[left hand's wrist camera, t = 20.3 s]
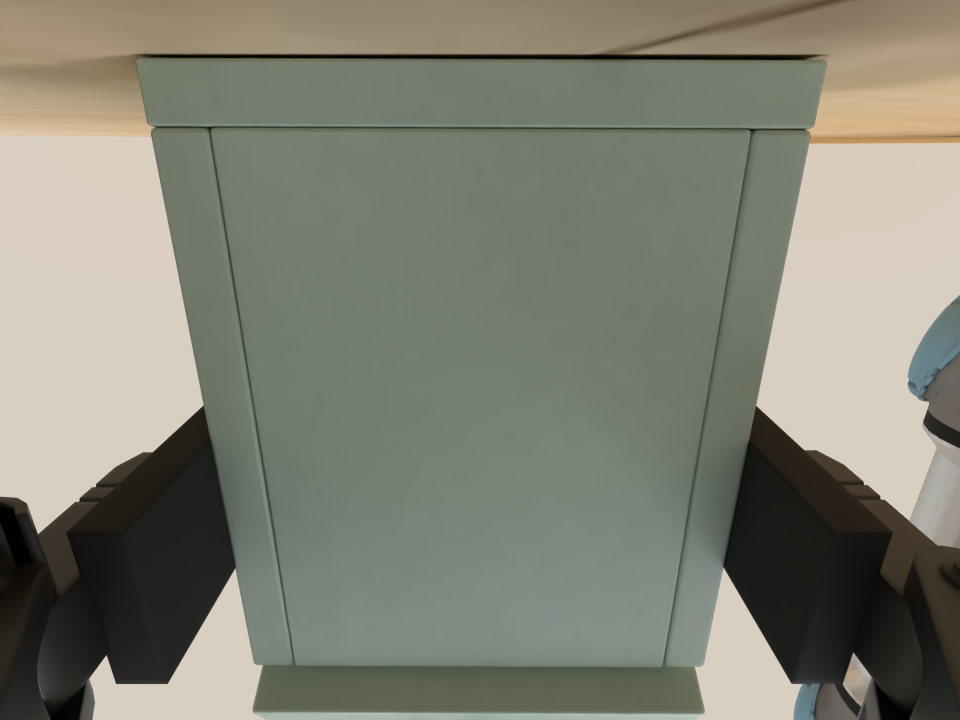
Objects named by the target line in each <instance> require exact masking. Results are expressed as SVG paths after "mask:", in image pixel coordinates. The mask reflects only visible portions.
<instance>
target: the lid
mask: <svg viewBox="0 0 960 720" xmlns="http://www.w3.org/2000/svg"><path fill="white" fill-rule="evenodd" d="M253 712H254V713H255V714H257V715H259V716H261V717H262V718H264V719H266V720H695V719H696V718H698V717H700V716H702V715H704V712H705V709H704V705H703V701H702V696H701V692H700V688H699V683H698V679H697V675H696V670H695V667H668V666H665V665H664V663H663V665H662V667H494V666H298V665H296V664H295V661H294V663H293V664H291V665H263V667H262V671H261V675H260V679H259V684H258V688H257V692H256V696H255V700H254V704H253Z"/></svg>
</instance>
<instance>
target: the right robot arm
mask: <svg viewBox="0 0 960 720" xmlns="http://www.w3.org/2000/svg"><path fill="white" fill-rule="evenodd" d="M908 379H909V382H908V387H909V390H910V392H911V393H912V394H913V395H915V396H917V397H918V399H919V400H922V401H928V402H929V407H928V410H927V412H926V415H925V418H924V421H923V425H922V426H923V429H924V430H925V432H926V433H927V434H928V436H929V437H930V438H931V440H932V441H933V442H934V444H935V445H936V448H937V449H936V451H935V454H934V457H933V459H932V462H931V465H930V467H929V470H928V473H927V475H926V478H925V481H924V483H923V486H922V489H921V491H920V494H919V497H918V499H917V502H916V505H915V507H914V510H913V513H912V515H911V518H910V520H909V521H910V522H911V523H912V524H913V525H914V526H916V527H917V528H918V529H919V530H920V531H921V532H922V533H924V534H925V535H926V536H927V537H928V538H929V539H931V540H932V541H933V542H934V543H935V544H936V545H938V546H941V545H942V546H948V547H955V548H960V295H959V296H958V297H957V298H956V299H955V300H954V301H953V302H952V303H951V304H950V305H949V306H947V307H946V308H945V310H943V312H942V313H941V314H940V315H939V316H938V317H937V319H936V320H935V321H934V323H933V324H932V325H931V327H930V328H929V329H928V331H927V332H926V334H925V335H924V337H923V339H922V341H921V342H920V344H919V346H918V348H917V350H916V352H915V354H914V356H913V359H912V361H911V364H910V367H909V372H908ZM871 678H872V677H871V676H870V674H869V673H868V672H867V670H866V669H865V668H864V666H863V665H862V663H861V662H860V661H859V659H858V658H857V657H856V655H855V654H854V653H853V655H852V658H851V661H850V664H849V667H848V670H847V673H846V676H845V679H844V682H843V684H802V686H801V688H800V691H799V693H798V697H797V700H796V704H795V709H794V720H857V717H858V714H859V711H860V709H861V706H862V703H863V700H864V697H865V695H866V692H867V689H868V686H869V683H870V680H871Z"/></svg>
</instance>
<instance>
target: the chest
mask: <svg viewBox="0 0 960 720" xmlns="http://www.w3.org/2000/svg"><path fill="white" fill-rule="evenodd" d="M826 65H827V63H826V61H824V60H629V59H349V58H137V59H136V67H137V72H138V77H139V82H140V88H141V93H142V98H143V103H144V108H145V113H146V118H147V123H148V125H150V126H152V127H156V128H153V129H152V130H151V137H152V142H153V147H154V152H155V157H156V162H157V167H158V172H159V178H160V183H161V188H162V193H163V198H164V203H165V209H166V214H167V219H168V224H169V229H170V234H171V239H172V244H173V250H174V255H175V259H176V265H177V270H178V275H179V280H180V285H181V291H182V296H183V301H184V306H185V311H186V316H187V322H188V327H189V332H190V337H191V342H192V347H193V352H194V357H195V363H196V368H197V373H198V378H199V383H200V388H201V393H202V399H203V404H204V409H205V414H206V419H207V424H208V429H209V435H210V440H211V445H212V450H213V455H214V460H215V465H216V470H217V476H218V481H219V486H220V491H221V496H222V501H223V506H224V511H225V516H226V521H227V526H228V531H229V536H230V541H231V546H232V551H233V556H234V561H235V567H236V573H237V578H238V583H239V589H240V594H241V599H242V604H243V609H244V614H245V619H246V625H247V629H248V635H249V640H250V645H251V650H252V655H253V660H254V663H255V664H256V665H291V664H293V663H294V661H295V664H296V665H298V666H494V667H662V665H663V663H664V665H665V666H668V667H700V666H703V664H704V660H705V655H706V650H707V645H708V640H709V636H710V631H711V626H712V621H713V616H714V611H715V606H716V601H717V596H718V591H719V586H720V581H721V576H722V571H723V566H724V561H725V557H726V552H727V547H728V542H729V537H730V532H731V527H732V522H733V517H734V512H735V507H736V502H737V497H738V492H739V487H740V482H741V477H742V472H743V468H744V463H745V458H746V453H747V448H748V443H749V438H750V433H751V428H752V423H753V418H754V413H755V408H756V403H757V398H758V393H759V388H760V383H761V379H762V374H763V369H764V364H765V359H766V354H767V349H768V344H769V339H770V334H771V329H772V324H773V319H774V314H775V309H776V304H777V299H778V294H779V290H780V285H781V280H782V275H783V270H784V265H785V260H786V255H787V250H788V245H789V240H790V235H791V230H792V225H793V220H794V215H795V211H796V206H797V201H798V196H799V191H800V186H801V181H802V176H803V171H804V166H805V161H806V156H807V151H808V146H809V141H810V132H809V131H807V130H805V129H810V128H813V126H814V124H815V119H816V114H817V109H818V105H819V100H820V95H821V90H822V85H823V80H824V75H825V70H826Z"/></svg>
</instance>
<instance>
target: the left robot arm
mask: <svg viewBox="0 0 960 720" xmlns="http://www.w3.org/2000/svg"><path fill="white" fill-rule="evenodd" d="M723 567H724V569H725V570H726V572H727V574H728V576H729V577H730V579H731V581H732V582H733V584H734V586H735V588H736V589H737V591H738V593H739V594H740V596H741V598H742V600H743V601H744V603H745V605H746V606H747V608H748V610H749V612H750V613H751V615H752V617H753V618H754V620H755V622H756V624H757V625H758V627H759V629H760V630H761V632H762V634H763V635H764V637H765V639H766V641H767V642H768V644H769V646H770V647H771V649H772V651H773V653H774V654H775V656H776V658H777V659H778V661H779V663H780V664H781V666H782V668H783V670H784V671H785V673H786V675H787V677H788V678H789V680H790V682H791V683H792V684H843V682H844V679H845V676H846V673H847V670H848V667H849V664H850V661H851V658H852V655H853V653H854V654H855V655H856V657H857V658H858V659H859V661H860V662H861V663H862V665H863V666H864V668H865V669H866V670H867V672H868V673H869V674H870V676H871V677H872V678H871V680H870V683H869V686H868V689H867V692H866V695H865V697H864V700H863V703H862V706H861V709H860V711H859V714H858V717H857V720H960V548H955V547H948V546H942V545H941V546H938V545H936V544H935V543H934V542H933V541H932V540H931V539H929V538H928V537H927V536H926V535H925V534H924V533H922V532H921V531H920V530H919V529H918V528H917V527H916V526H914V525H913V524H912V523H911V522H910V521H909V520H907V519H906V518H905V517H904V516H903V515H902V514H900V513H899V512H898V511H897V510H896V509H895V508H893V507H892V506H891V505H890V504H889V503H888V502H887V501H885V500H881V499H880V495H878V494H877V493H876V492H875V491H874V490H873V489H871V488H870V487H869V486H868V485H864V482H863V481H862V480H861V479H860V478H859V477H858V476H856V475H855V474H854V473H853V472H852V471H851V470H849V469H848V468H847V467H846V466H845V465H843V464H841V463H839V462H838V461H836V460H834V459H832V458H830V457H828V456H826V455H824V454H822V453H820V452H818V451H816V450H803V449H802V448H801V447H800V446H799V445H798V444H797V443H796V442H795V441H794V440H793V439H791V438H790V437H789V436H788V435H787V434H786V433H785V432H784V431H783V430H782V429H781V428H780V427H778V426H777V425H776V424H775V423H774V422H773V421H772V420H771V419H770V418H769V417H768V416H767V415H765V414H764V413H763V412H762V411H761V410H760V409H759V408H758V407H757V406H756V408H755V413H754V418H753V423H752V428H751V433H750V438H749V443H748V448H747V453H746V458H745V463H744V468H743V472H742V477H741V482H740V487H739V492H738V497H737V502H736V507H735V512H734V517H733V522H732V527H731V532H730V537H729V542H728V547H727V552H726V557H725V561H724V566H723ZM235 568H236V567H235V561H234V556H233V551H232V546H231V541H230V536H229V531H228V526H227V521H226V516H225V511H224V506H223V501H222V496H221V491H220V486H219V481H218V476H217V470H216V465H215V460H214V455H213V450H212V445H211V440H210V435H209V429H208V424H207V419H206V414H205V409H204V406H203V407H202V408H200V409H199V410H198V411H197V412H196V413H195V414H194V415H193V416H192V417H191V418H190V419H189V420H187V421H186V422H185V423H184V424H183V425H182V426H181V427H180V428H179V429H178V430H177V431H176V432H174V433H173V434H172V435H171V436H170V437H169V438H168V439H167V440H166V441H165V442H164V443H163V444H161V445H160V446H159V447H158V448H157V449H156V450H155V451H154V452H143V453H141V454H139V455H137V456H136V457H134V458H132V459H130V460H128V461H126V462H124V463H122V464H120V465H118V466H117V467H115V468H114V469H113V470H112V471H111V472H109V473H108V474H107V475H106V476H105V477H104V478H103V479H101V480H100V481H99V482H98V483H97V484H96V487H92V488H91V489H90V490H89V491H87V492H86V493H85V494H84V495H83V496H82V497H81V498H80V501H79V502H75V503H74V504H73V505H71V506H70V507H69V508H68V509H67V510H66V511H64V512H63V513H62V514H61V515H60V516H59V517H58V518H56V519H55V520H54V521H53V522H52V523H51V524H49V525H48V526H47V527H46V528H45V529H44V530H43V531H41V532H40V533H39V534H37V531H36V528H35V525H34V522H33V519H32V517H31V514H30V511H29V508H28V505H27V503H25V502H23V501H22V500H20V499H18V498H11V497H0V720H92V718H93V711H94V705H95V700H94V694H93V689H92V686H91V683H90V680H89V678H90V676H91V675H92V674H93V672H94V671H95V670H96V668H97V667H98V666H99V664H100V663H101V662H102V660H103V659H104V658H105V656H106V655H107V657H108V660H109V663H110V666H111V669H112V673H113V676H114V679H115V682H116V684H168V682H169V681H170V679H171V677H172V675H173V674H174V672H175V670H176V669H177V667H178V665H179V663H180V662H181V660H182V658H183V657H184V655H185V653H186V652H187V650H188V648H189V646H190V645H191V643H192V641H193V640H194V638H195V636H196V634H197V633H198V631H199V629H200V628H201V626H202V624H203V623H204V621H205V619H206V617H207V616H208V614H209V612H210V611H211V609H212V607H213V605H214V604H215V602H216V600H217V599H218V597H219V595H220V593H221V592H222V590H223V588H224V587H225V585H226V583H227V581H228V580H229V578H230V576H231V575H232V573H233V571H234V569H235Z"/></svg>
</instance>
